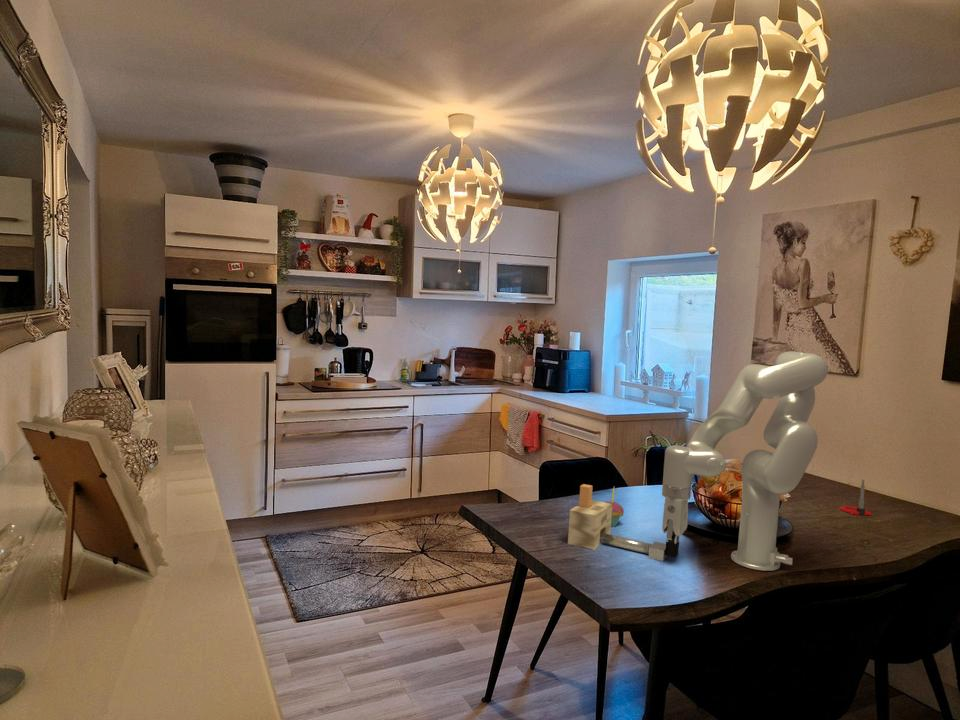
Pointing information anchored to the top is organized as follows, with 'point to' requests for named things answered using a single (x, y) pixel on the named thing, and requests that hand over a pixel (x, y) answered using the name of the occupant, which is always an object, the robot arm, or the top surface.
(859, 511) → the grey spike red base
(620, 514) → the cupcake
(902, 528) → the top surface
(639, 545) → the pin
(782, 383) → the robot arm
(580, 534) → the block
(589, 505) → the plunger
